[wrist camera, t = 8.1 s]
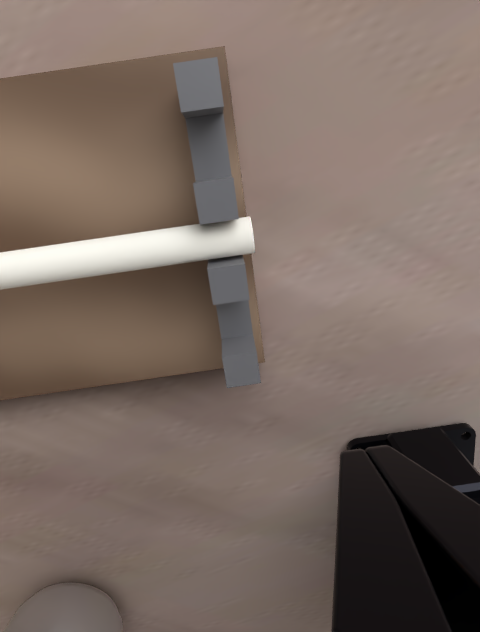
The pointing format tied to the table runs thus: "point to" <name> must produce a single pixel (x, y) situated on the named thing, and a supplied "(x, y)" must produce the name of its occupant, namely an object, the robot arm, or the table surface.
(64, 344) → the cord board
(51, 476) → the table surface
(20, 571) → the table surface
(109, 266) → the cord
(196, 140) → the cable comb
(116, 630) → the plastic bottle
